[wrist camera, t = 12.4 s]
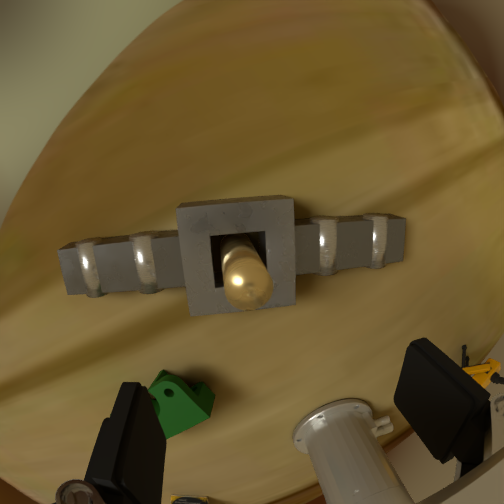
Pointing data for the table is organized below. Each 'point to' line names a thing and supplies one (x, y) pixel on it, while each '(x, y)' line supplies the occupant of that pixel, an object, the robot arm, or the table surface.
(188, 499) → the medicine bottle
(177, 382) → the clamp
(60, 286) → the table surface
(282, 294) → the grey metal bar
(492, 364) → the robot dog
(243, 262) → the pin
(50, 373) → the table surface
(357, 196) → the table surface
